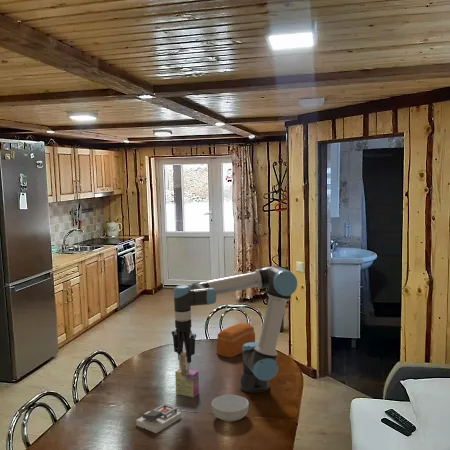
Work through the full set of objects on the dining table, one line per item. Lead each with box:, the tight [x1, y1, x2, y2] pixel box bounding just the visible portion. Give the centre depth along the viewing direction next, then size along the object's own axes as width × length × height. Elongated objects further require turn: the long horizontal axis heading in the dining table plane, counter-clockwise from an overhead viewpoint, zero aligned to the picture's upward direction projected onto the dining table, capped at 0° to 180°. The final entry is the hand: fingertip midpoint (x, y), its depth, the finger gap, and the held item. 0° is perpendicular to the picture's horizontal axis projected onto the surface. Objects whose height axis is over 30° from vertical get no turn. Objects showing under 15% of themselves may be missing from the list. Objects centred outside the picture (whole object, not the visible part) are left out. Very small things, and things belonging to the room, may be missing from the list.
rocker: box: [141, 410, 163, 420], centre depth 212 cm, size 8×4×2 cm, turn 54°
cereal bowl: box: [211, 394, 250, 422], centre depth 217 cm, size 17×17×7 cm
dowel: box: [180, 350, 190, 376], centre depth 225 cm, size 4×4×11 cm
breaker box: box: [136, 403, 182, 434], centre depth 215 cm, size 12×16×4 cm
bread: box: [216, 322, 256, 358], centre depth 303 cm, size 14×26×16 cm, turn 141°
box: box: [174, 368, 200, 398], centre depth 242 cm, size 10×6×12 cm, turn 65°
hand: (185, 368), depth 225 cm, fingers closed on dowel, 3 cm apart
